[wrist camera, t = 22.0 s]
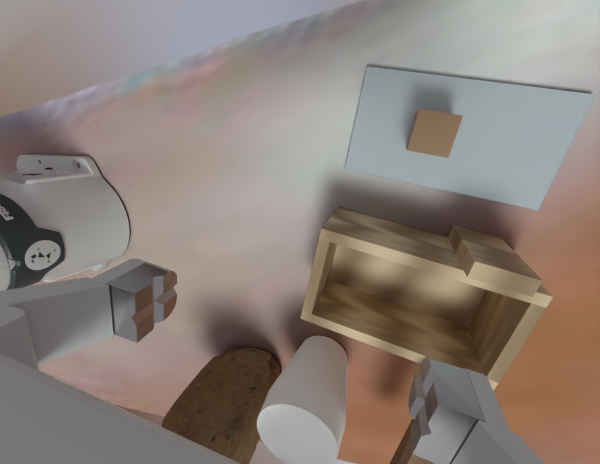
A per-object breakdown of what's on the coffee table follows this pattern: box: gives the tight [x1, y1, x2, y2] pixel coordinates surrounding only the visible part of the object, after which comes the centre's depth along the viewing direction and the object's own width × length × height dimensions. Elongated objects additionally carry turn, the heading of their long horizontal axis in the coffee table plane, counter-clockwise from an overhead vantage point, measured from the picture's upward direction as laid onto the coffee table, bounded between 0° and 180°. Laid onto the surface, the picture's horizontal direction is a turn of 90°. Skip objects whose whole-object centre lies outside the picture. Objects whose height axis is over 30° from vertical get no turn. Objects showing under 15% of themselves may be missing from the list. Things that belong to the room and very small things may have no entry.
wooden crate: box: [300, 207, 553, 391], centre depth 28 cm, size 18×13×10 cm
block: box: [161, 347, 281, 464], centre depth 36 cm, size 11×8×20 cm
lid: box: [345, 66, 596, 210], centre depth 25 cm, size 18×10×6 cm, turn 80°
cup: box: [257, 336, 347, 464], centre depth 34 cm, size 9×9×12 cm
